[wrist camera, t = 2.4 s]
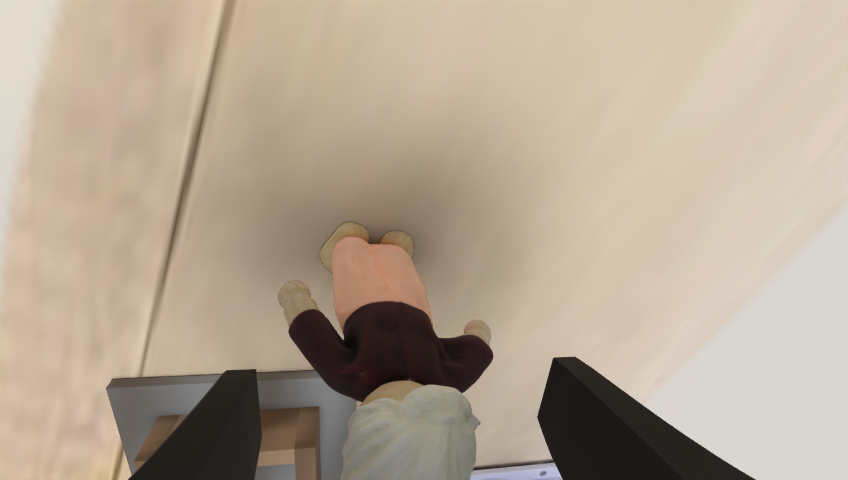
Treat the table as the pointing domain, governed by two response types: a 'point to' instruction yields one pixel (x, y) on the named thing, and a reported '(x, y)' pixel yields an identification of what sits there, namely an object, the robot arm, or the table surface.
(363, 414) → the grandmother figurine
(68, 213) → the table surface
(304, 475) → the wooden tray
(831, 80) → the table surface
